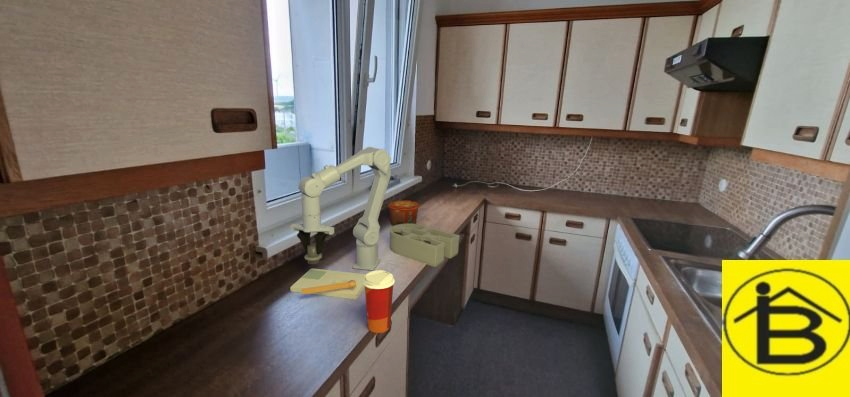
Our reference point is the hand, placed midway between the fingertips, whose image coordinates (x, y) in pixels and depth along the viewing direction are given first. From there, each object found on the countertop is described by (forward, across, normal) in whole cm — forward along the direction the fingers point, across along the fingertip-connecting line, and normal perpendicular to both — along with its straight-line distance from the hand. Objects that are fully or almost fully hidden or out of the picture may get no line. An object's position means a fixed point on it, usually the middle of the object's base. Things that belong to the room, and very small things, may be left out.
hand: (313, 252), depth 119 cm
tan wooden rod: (+7, +10, -10) cm, 16 cm away
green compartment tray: (+10, +31, +32) cm, 46 cm away
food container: (+10, +16, +66) cm, 69 cm away
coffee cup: (+10, +30, -22) cm, 38 cm away
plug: (+3, 0, 0) cm, 3 cm away
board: (+10, +8, -2) cm, 13 cm away
